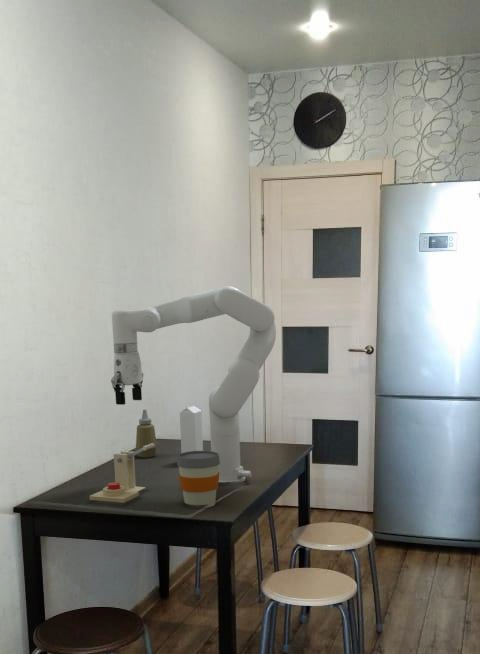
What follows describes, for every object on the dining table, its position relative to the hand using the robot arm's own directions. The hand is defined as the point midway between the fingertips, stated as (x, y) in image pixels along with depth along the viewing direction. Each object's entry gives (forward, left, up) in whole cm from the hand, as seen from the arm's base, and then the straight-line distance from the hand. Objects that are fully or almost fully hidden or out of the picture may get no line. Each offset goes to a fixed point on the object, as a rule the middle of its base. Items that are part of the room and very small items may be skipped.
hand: (129, 402), depth 273 cm
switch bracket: (-3, +10, -27) cm, 29 cm away
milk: (-3, -37, -28) cm, 47 cm away
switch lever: (-8, +10, -16) cm, 20 cm away
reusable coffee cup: (-32, +16, -28) cm, 45 cm away
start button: (-5, +20, -24) cm, 31 cm away
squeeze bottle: (+19, -42, -28) cm, 54 cm away
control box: (-5, +20, -27) cm, 34 cm away
